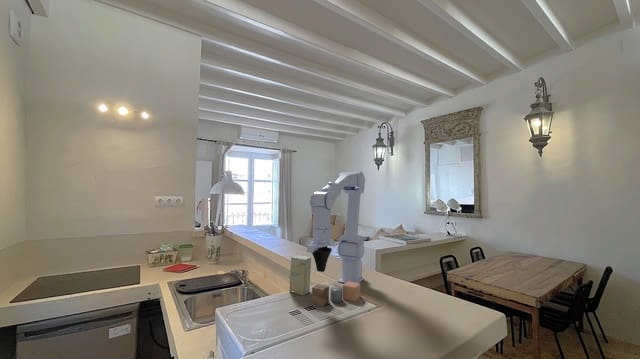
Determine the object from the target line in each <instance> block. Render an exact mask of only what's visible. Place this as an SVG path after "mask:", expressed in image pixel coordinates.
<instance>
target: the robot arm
mask: <svg viewBox="0 0 640 359" xmlns="http://www.w3.org/2000/svg"><path fill="white" fill-rule="evenodd" d="M365 185H366V177H365V174H364V172H363V171H353V172H351V171H350V172H348V171H347V172H343V171H342V172H340V173H338V175H337V179H336V180H335V181H329V182H327V184H326V185H325V186H324V187H322V188H321V189H320V190H318V191H314V192H313V193H311V196H310V199H309V204H310V208H311V213H312V241H311V242H310V244H307V245H306V252H307V253H311V254H312V256H313V259H314V262H315V267H316V271H317V272H321V273H324V272H325V270H326V268H327V263H328V261H329V260H328V259H329V257H330V255H331V253H332V251H333V248H331V247H332V246H334V245H335V239H334V238H331V227H332V226H331V223H332V222H331V220H332V219H331V217H332V215H331V212H332V209H333V208H334V207H335V203H336V201H337V199H338V198H339V197H340V195H341V194H342V191H343V193H345V194H347V196H348V198H347V199H348V201H347V211H346V222H345V223H346V225H345V233H344V234H343V235H341V236H340V237H339V240H338V245H337V247H336V248H337V250H336V251H337V254H338V256H339V257H340V258H339V259H341V278H339V279H338V280H337V282H338V281H339V282H338V283H343V284H345V283H346V282H348V281H350V282H355V283H360V284H361V282H362V281H363V280H365V277H364V276H363V261H362V259H363V257H364V256H365V242H364V239H363V238H362V237H361V236H360V235H359V234H358V230H359V221H360V220H359V217H360V207H361V205H360V204H361V195H362V194H363V193H364V192H365V187H366V186H365Z"/></svg>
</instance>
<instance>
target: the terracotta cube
mask: <svg viewBox="0 0 640 359" xmlns="http://www.w3.org/2000/svg"><path fill="white" fill-rule="evenodd" d="M342 289H343V297H342V300H347V301H351V302H356V301H357V300H358V299H360V298H361V282H360V283H355V282H350V281H348V282H346V283H343V284H342Z"/></svg>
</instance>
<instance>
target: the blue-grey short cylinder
mask: <svg viewBox="0 0 640 359" xmlns="http://www.w3.org/2000/svg"><path fill="white" fill-rule="evenodd" d="M329 302H332V303H335V304H337V303H342V302H343V287H338V286H333V287H330V288H329Z"/></svg>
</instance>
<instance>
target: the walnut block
mask: <svg viewBox="0 0 640 359" xmlns="http://www.w3.org/2000/svg"><path fill="white" fill-rule="evenodd" d="M329 302H330V286H329V285H325V284H321V283H317V284H316V285H314V286H312V287H311V305H315V306H319V307H325V306H326V304H328V303H329Z"/></svg>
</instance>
